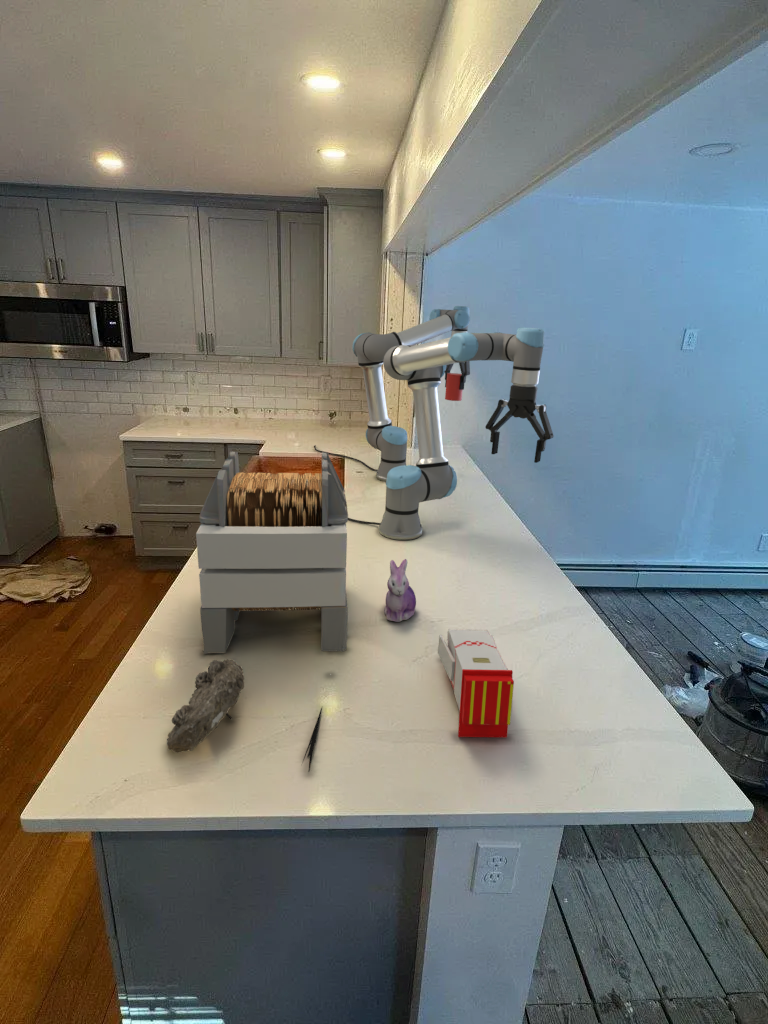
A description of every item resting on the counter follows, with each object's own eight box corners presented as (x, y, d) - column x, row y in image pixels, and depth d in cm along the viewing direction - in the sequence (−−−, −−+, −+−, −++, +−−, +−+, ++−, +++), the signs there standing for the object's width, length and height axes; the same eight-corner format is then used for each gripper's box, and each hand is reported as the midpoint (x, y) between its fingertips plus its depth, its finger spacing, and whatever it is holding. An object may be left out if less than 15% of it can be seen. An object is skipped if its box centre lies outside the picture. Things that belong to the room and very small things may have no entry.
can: (446, 400, 277) (448, 374, 272) (443, 397, 284) (445, 372, 280) (463, 401, 277) (465, 375, 273) (460, 398, 285) (462, 373, 281)
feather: (331, 679, 122) (336, 673, 122) (307, 777, 96) (313, 769, 95) (324, 675, 122) (329, 669, 121) (298, 772, 95) (304, 764, 95)
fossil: (192, 660, 117) (244, 628, 112) (224, 691, 120) (276, 661, 115) (142, 746, 98) (202, 712, 93) (182, 779, 101) (242, 748, 96)
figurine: (392, 627, 141) (395, 572, 136) (374, 608, 149) (376, 556, 144) (425, 619, 145) (429, 566, 140) (405, 601, 154) (408, 550, 149)
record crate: (224, 585, 158) (215, 442, 144) (341, 584, 162) (344, 444, 148) (200, 656, 126) (187, 481, 112) (347, 652, 130) (351, 482, 116)
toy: (488, 613, 130) (523, 677, 101) (484, 667, 133) (517, 744, 104) (435, 612, 130) (455, 676, 101) (432, 666, 133) (451, 743, 103)
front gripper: (572, 388, 157) (560, 462, 164) (490, 379, 171) (483, 448, 178) (562, 391, 151) (551, 467, 159) (478, 381, 165) (471, 452, 172)
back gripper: (481, 342, 267) (476, 390, 274) (447, 338, 281) (443, 385, 288) (471, 342, 262) (466, 391, 269) (437, 338, 276) (433, 386, 283)
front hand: (515, 457), depth 168 cm, fingers open, 13 cm apart
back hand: (454, 388), depth 279 cm, fingers closed on can, 8 cm apart
